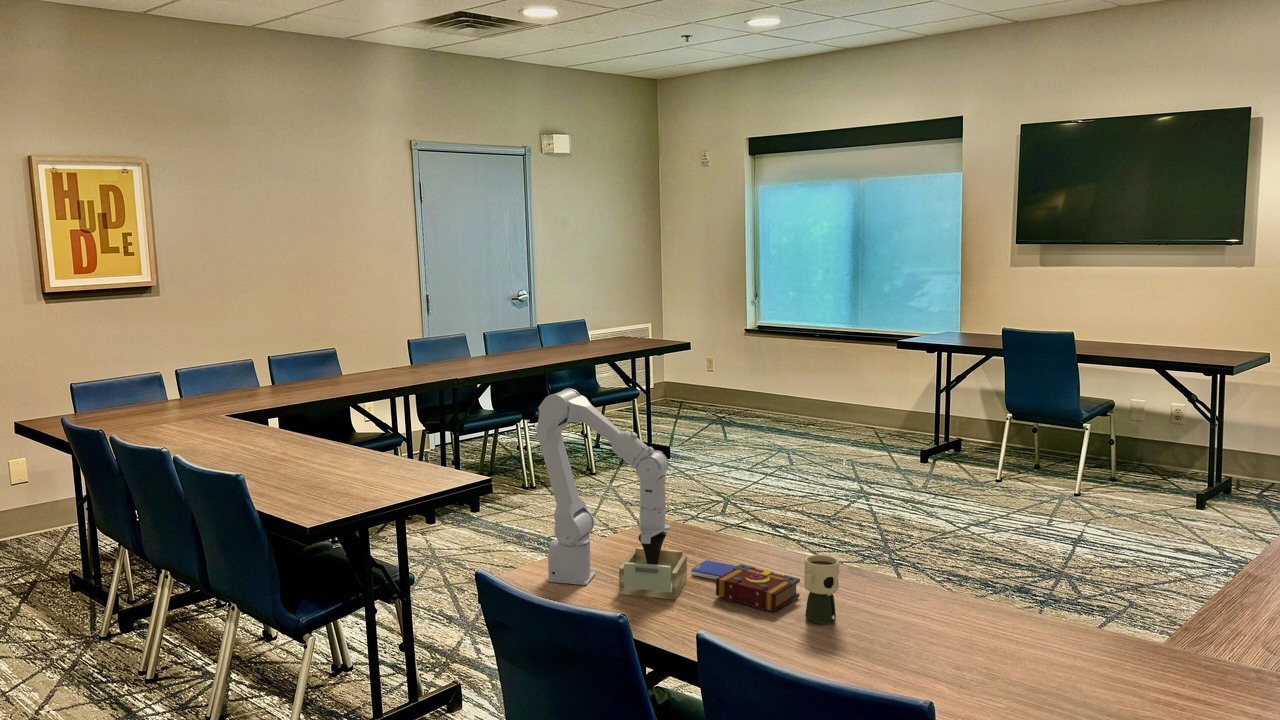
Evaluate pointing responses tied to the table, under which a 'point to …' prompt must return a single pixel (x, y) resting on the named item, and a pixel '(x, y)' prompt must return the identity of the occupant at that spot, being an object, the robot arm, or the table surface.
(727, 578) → the decorative book
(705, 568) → the hard drive
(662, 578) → the panel
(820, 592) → the character mug
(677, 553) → the crate
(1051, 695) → the table surface
